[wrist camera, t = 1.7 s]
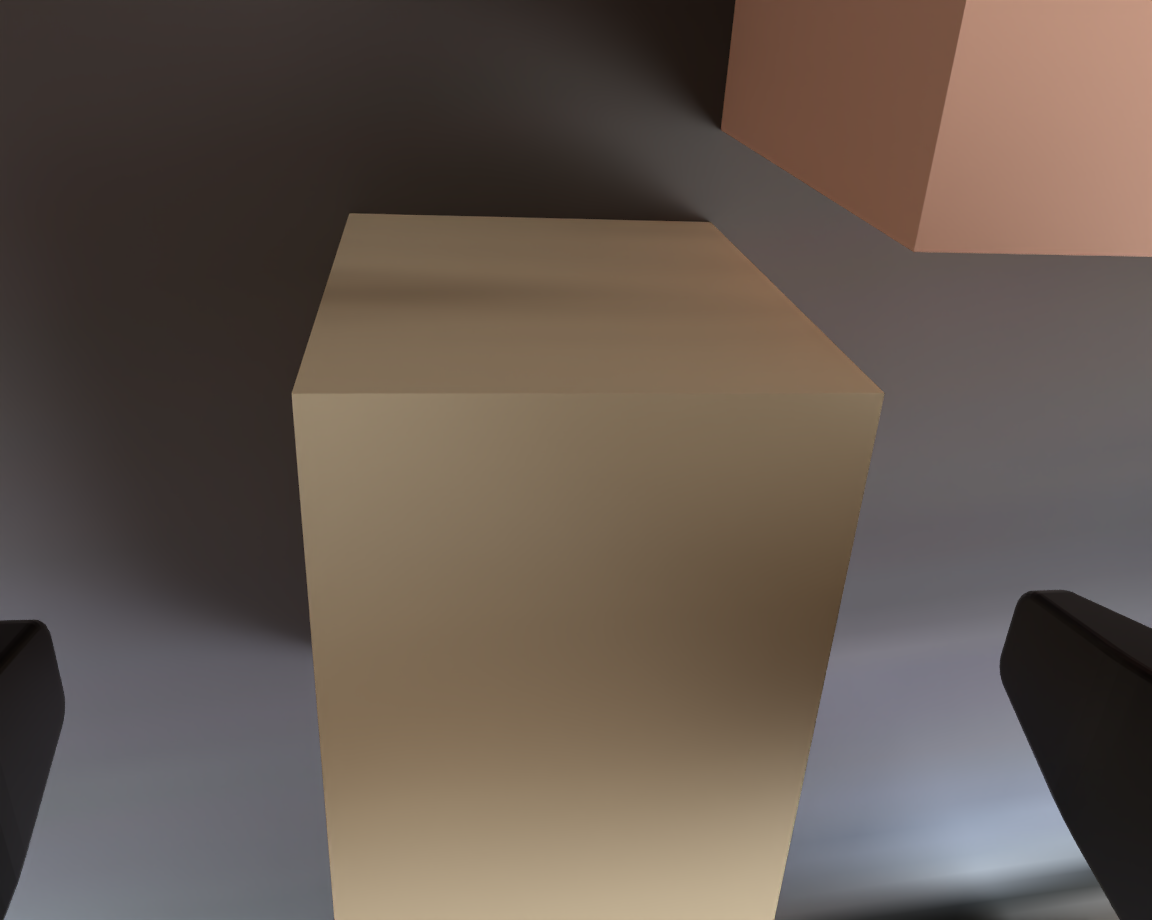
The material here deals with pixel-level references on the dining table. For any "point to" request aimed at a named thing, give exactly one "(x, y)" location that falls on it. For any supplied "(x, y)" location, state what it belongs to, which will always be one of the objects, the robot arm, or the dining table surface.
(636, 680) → the maple block
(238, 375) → the dining table surface
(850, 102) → the terracotta block
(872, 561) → the dining table surface
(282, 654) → the dining table surface
